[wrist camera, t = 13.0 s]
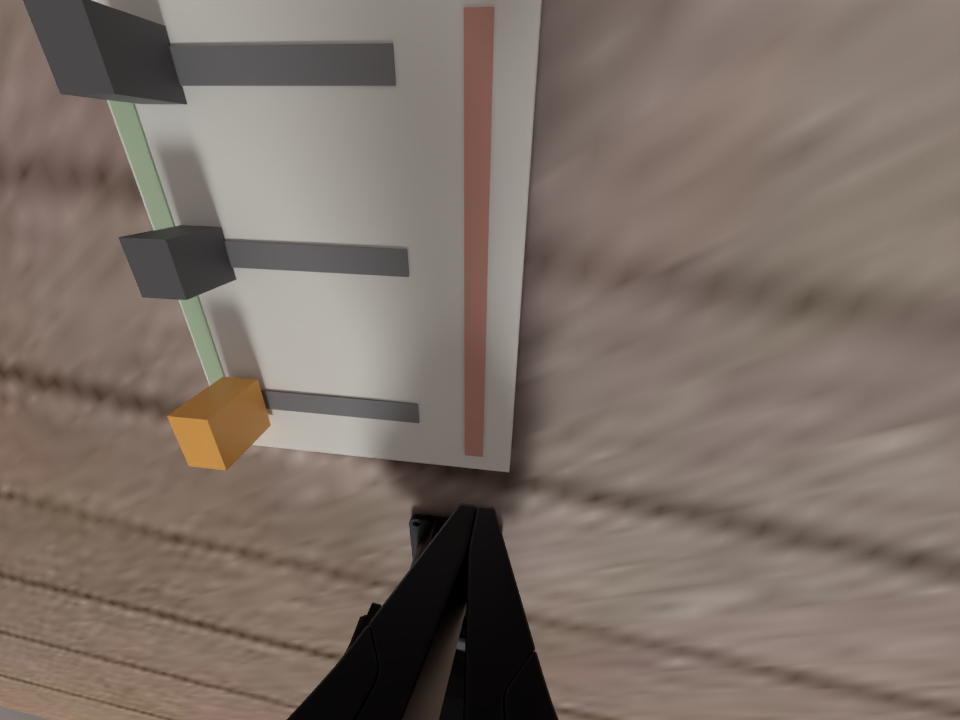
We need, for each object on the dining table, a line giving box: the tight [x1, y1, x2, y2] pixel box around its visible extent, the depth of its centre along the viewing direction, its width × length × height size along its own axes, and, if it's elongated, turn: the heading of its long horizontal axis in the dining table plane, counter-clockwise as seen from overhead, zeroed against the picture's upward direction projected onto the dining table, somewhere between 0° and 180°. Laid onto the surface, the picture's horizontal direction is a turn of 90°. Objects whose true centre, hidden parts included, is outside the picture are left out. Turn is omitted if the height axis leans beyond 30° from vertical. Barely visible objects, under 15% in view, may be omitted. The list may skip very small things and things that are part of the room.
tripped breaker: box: [167, 377, 271, 470], centre depth 20 cm, size 3×2×4 cm, turn 179°
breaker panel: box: [23, 0, 542, 472], centre depth 18 cm, size 21×17×5 cm
